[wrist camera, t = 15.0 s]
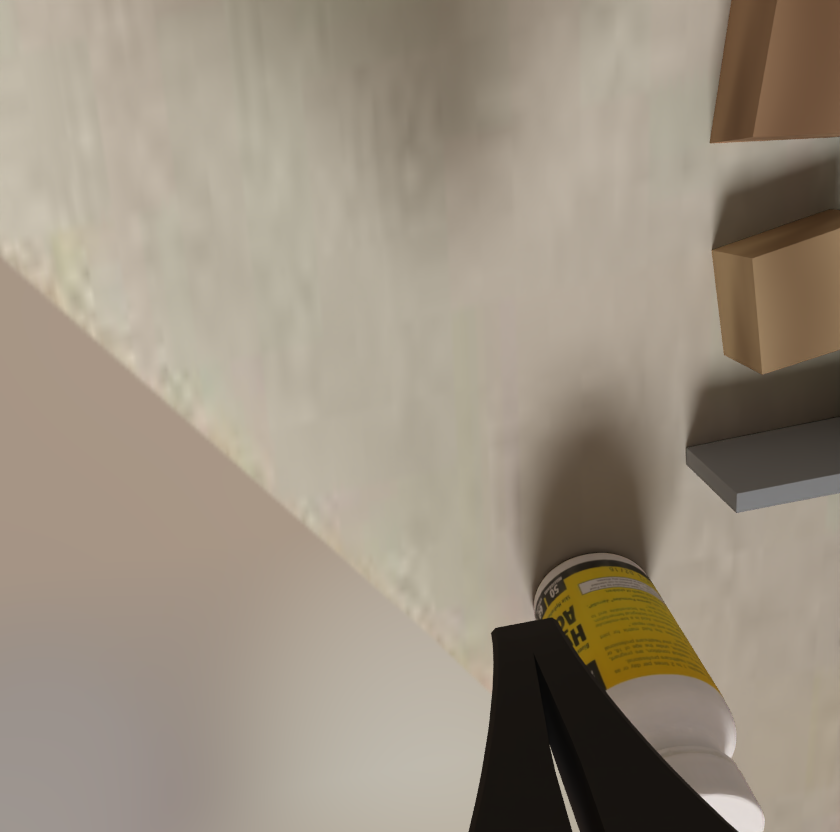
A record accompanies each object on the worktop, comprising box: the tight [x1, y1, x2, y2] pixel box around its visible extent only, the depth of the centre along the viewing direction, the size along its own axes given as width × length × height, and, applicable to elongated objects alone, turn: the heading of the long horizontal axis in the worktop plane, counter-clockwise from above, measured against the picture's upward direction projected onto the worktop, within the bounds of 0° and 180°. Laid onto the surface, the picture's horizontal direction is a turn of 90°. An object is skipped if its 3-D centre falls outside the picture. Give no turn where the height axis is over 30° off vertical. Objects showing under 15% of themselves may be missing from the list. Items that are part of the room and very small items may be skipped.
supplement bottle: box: [534, 553, 765, 832], centre depth 20 cm, size 5×5×10 cm
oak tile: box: [712, 209, 840, 375], centre depth 18 cm, size 4×4×2 cm
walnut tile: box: [710, 0, 840, 143], centre depth 15 cm, size 4×4×2 cm
